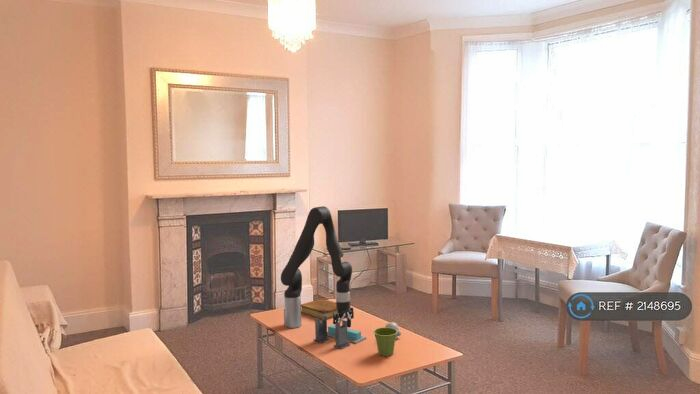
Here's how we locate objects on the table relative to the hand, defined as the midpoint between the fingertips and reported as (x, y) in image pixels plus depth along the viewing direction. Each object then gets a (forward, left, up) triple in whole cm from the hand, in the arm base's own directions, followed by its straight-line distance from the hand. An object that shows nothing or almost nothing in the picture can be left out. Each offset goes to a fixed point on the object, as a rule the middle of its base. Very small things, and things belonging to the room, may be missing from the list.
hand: (343, 329), depth 292 cm
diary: (-38, +26, -5) cm, 46 cm away
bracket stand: (+1, -11, -4) cm, 12 cm away
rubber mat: (0, 0, -4) cm, 4 cm away
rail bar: (0, 0, -3) cm, 3 cm away
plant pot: (+32, -6, -4) cm, 33 cm away
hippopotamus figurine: (+22, +11, -4) cm, 25 cm away
